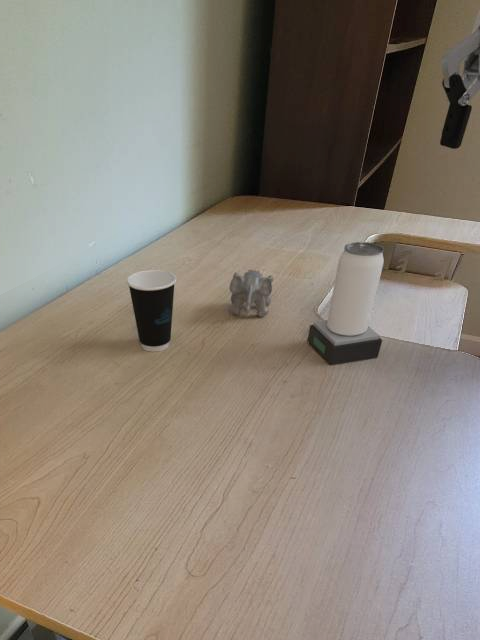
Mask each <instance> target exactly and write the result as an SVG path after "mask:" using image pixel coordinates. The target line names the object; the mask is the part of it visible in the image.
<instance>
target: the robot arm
mask: <svg viewBox="0 0 480 640" xmlns="http://www.w3.org/2000/svg"><path fill="white" fill-rule="evenodd" d="M462 61H463V62H462ZM461 62H462V63H463V64H462V71H461V73H462V75H460V66H461ZM441 71H442V77H443V78H442V81H441V82H442V83H441V85H442V87H443V90H444V92H445V94H446V98H445V100H446V102H447V104H449V106H448V109H447V113H446V116H445V120H444V123H443V126H442V130H441V137H440V141H439V145H440V146H443V147H446V148H449V149H453V150H457V149H459V148H460V147H462V143H463V139H464V137H465V133H466V130H467V126H468V123H469V121H470V116H471V113H472V108H473V105H472V104H471V105H470V104H469V103H470V101H471V100H472V99H473V98H474V97H475V95H476V94H477V93H478V92H479V91H480V8H479V9H478V12H477V15H476V19H475V21H474V24H473V27H472V30H471V34H469V35H467V36H466V37H465V38H463V39H462V40H461V41H459V42H458V43H456V44H455V45H454V46H452V47H451V48H449V49H448V50H447V51H445V52H444V53H443V54H442V56H441Z"/></svg>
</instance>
